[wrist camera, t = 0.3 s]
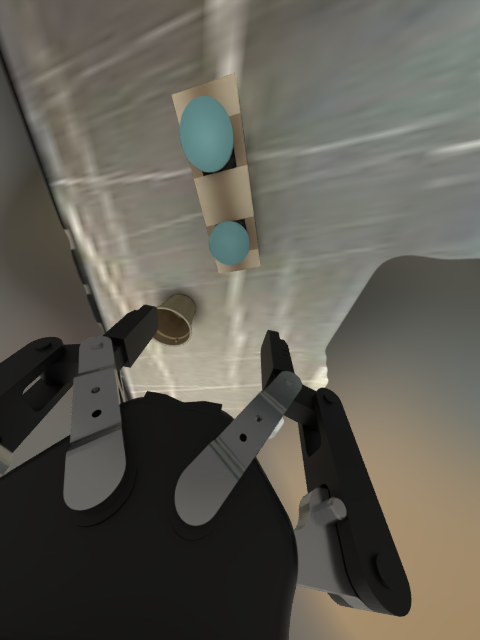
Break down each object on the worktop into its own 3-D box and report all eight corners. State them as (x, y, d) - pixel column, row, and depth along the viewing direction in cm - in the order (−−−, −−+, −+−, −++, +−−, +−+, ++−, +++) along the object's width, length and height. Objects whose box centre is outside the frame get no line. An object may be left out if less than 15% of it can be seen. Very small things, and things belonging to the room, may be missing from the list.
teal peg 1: (233, 116, 21) (226, 87, 15) (241, 172, 24) (237, 164, 18) (191, 129, 22) (171, 105, 16) (204, 182, 25) (190, 177, 19)
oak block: (239, 100, 23) (235, 72, 18) (259, 256, 34) (260, 266, 29) (188, 116, 24) (171, 95, 19) (223, 263, 35) (218, 273, 30)
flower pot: (189, 329, 45) (177, 353, 38) (155, 307, 42) (134, 329, 35) (210, 304, 40) (200, 327, 33) (173, 278, 37) (154, 297, 30)
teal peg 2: (247, 213, 26) (245, 217, 21) (252, 249, 29) (252, 261, 24) (213, 220, 27) (203, 226, 22) (222, 255, 30) (215, 268, 25)
